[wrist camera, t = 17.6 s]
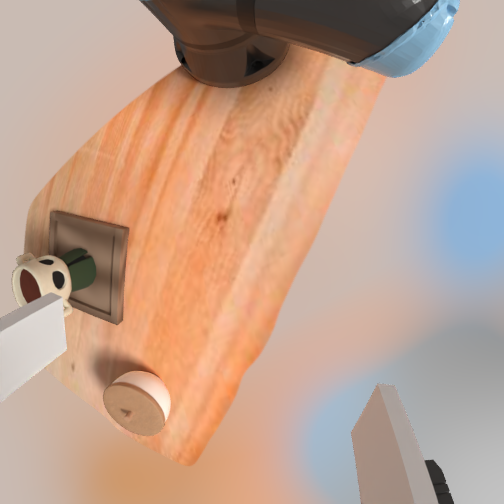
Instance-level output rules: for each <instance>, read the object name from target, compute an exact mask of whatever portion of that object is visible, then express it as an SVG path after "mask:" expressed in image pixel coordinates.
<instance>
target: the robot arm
mask: <svg viewBox="0 0 504 504" xmlns="http://www.w3.org/2000/svg"><path fill="white" fill-rule="evenodd" d="M140 1H141V2H142V3H143V4H144V5H145V6H146V7H147V8H148V9H149V10H150V11H151V12H152V14H153V15H154V16H155V17H156V18H157V19H158V20H159V21H160V22H161V23H162V24H163V25H164V26H165V27H166V28H167V29H168V30H169V32H170V33H172V34H173V36H174V45H175V51H176V55H177V57H178V60H179V62H180V63H181V65H182V66H183V67H184V68H185V70H186V71H187V72H188V73H189V74H191V75H192V76H193V77H194V78H195V79H197V80H198V81H200V82H202V83H205V84H207V85H210V86H215V87H221V88H234V87H241V86H245V85H249V84H252V83H254V82H257V81H259V80H261V79H263V78H264V77H266V76H268V75H269V74H270V73H272V72H273V71H274V70H275V69H276V68H277V67H278V66H279V65H280V64H281V62H282V61H283V59H284V58H285V56H286V54H287V51H288V48H289V43H291V44H294V45H298V46H301V47H305V48H308V49H311V50H314V51H317V52H320V53H323V54H326V55H329V56H332V57H335V58H338V59H341V60H343V61H346V62H347V64H349V65H351V66H354V67H363V68H366V69H368V70H371V71H374V72H376V73H379V74H381V75H384V76H387V77H394V78H396V77H401V76H405V75H408V74H411V73H412V72H414V71H416V70H417V69H418V68H420V67H421V66H422V65H423V64H424V63H425V62H426V61H427V60H428V59H429V58H430V57H431V56H432V55H433V54H434V53H435V51H436V50H437V49H438V48H439V46H440V45H441V43H442V42H443V41H444V39H445V37H446V36H447V34H448V33H449V31H450V29H451V27H452V25H453V22H454V19H453V16H454V15H455V14H456V12H457V11H458V8H459V4H460V0H140ZM66 350H67V345H66V336H65V325H64V311H63V297H61V296H59V295H57V294H54V293H52V292H50V293H48V294H46V295H44V296H42V297H40V298H38V299H36V300H34V301H32V302H30V303H28V304H26V305H24V306H22V307H21V308H19V309H17V310H15V311H13V312H11V313H9V314H7V315H5V316H3V317H1V318H0V403H1V402H2V401H3V400H5V399H6V398H7V397H8V396H9V395H11V394H12V393H13V392H14V391H16V390H17V389H18V388H19V387H20V386H22V385H23V384H24V383H25V382H27V381H28V380H29V379H30V378H32V377H33V376H34V375H35V374H37V373H38V372H39V371H40V370H42V369H43V368H44V367H46V366H47V365H48V364H49V363H51V362H52V361H53V360H54V359H56V358H57V357H58V356H60V355H61V354H62V353H63V352H65V351H66ZM351 436H352V442H353V448H354V454H355V461H356V468H357V475H358V483H359V491H360V499H361V504H454V502H453V499H452V496H451V493H449V488H448V485H447V484H446V480H445V477H444V474H443V472H442V470H441V468H440V467H439V466H438V465H437V464H436V463H435V461H434V460H424V458H423V456H422V453H421V450H420V447H419V445H418V442H417V439H416V437H415V434H414V432H413V429H412V426H411V424H410V421H409V419H408V417H407V414H406V411H405V409H404V407H403V404H402V402H401V399H400V397H399V394H398V392H397V390H396V387H395V385H386V384H377V386H376V388H375V390H374V392H373V394H372V395H371V397H370V399H369V401H368V403H367V405H366V407H365V409H364V411H363V412H362V414H361V416H360V418H359V420H358V421H357V423H356V425H355V426H354V428H353V430H352V432H351Z"/></svg>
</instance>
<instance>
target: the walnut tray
mask: <svg viewBox="0 0 504 504" xmlns="http://www.w3.org/2000/svg"><path fill="white" fill-rule="evenodd" d="M128 234H129V228H127V227H123V226H119V225H115V224H111V223H106V222H102V221H98V220H94V219H90V218H86V217H82V216H77V215H73V214H69V213H65V212H61V211H53V212H51V213H50V232H49V255H52V256H55V257H58V258H59V257H60V256H62V255H64V254H65V253H67V252H69V251H71V250H73V249H77V248H82V249H84V250H86V251H87V252H88V253H86V254H84V256H85V257H86V259H87V258H90V257H92V258H93V259H94V262H95V265H96V277H95V279H94V282H93V283H92V284H91V285H90V286H89V287H87V288H84V289H81V290H78V291H74V292H71V293H70V296H69V298H68V300H67V301H68V302H69V303H70V305H71V306H72V307H74V308H76V309H78V310H81V311H83V312H86V313H88V314H90V315H93V316H95V317H98V318H100V319H103V320H105V321H108V322H110V323H113V324H116V325H118V324H119V323H120V322H122V321H123V301H124V281H125V267H126V255H127V244H128Z"/></svg>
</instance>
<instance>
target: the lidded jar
mask: <svg viewBox="0 0 504 504" xmlns="http://www.w3.org/2000/svg"><path fill="white" fill-rule="evenodd" d="M103 401H104V405H105V407H106V409H107V411H108V413H109V414H110V416H111V417H112V418H113V419H114V420H115V421H116V422H117V423H118V424H119V425H121V426H122V427H124V428H125V429H127V430H128V431H130V432H133V433H135V434H138V435H143V436H153V435H156V434H158V433H160V432H161V431H162V429H163V427H164V425H165V422H166V420H167V418H168V415H169V412H170V407H171V399H170V395H169V392H168V390H167V388H166V386H165V384H164V382H163V381H162V380H161V379H160V378H159V377H158V376H156V375H154V374H152V373H150V372H144V371H131V372H128V373H125V374H123V375H121V376H120V377H118V378H117V379H116V380H115V381H114V382H113V383H112V384H111V385H109V386H108V387H107V388H106V390H105V391H104V394H103Z"/></svg>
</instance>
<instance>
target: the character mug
mask: <svg viewBox="0 0 504 504" xmlns="http://www.w3.org/2000/svg"><path fill="white" fill-rule="evenodd" d="M86 253H88V252H87V251H86V250H84V249H82V248H77V249H73V250H71V251H69V252H67V253H65V254H64V255H62V256H60V257H59V258H58V257H55V256H52V255H44V256H42V257H39V258H35V257H34V255H33V254H32V253H26V254H23V255H20V256H18V257H17V258H16V261H17V264H18V265H19V266H17V267H16V269H15V270H14V271H13V274H12V290H13V293H14V296H15V299H16V301H17V303H18V305H19V307H20V308H21V307H22V306H24V305H26V304H28V303H30V302H32V301H34V300H36V299H38V298H40V297H42V296H44V295H46V294H48V293H50V292H52V293H54V294H57V295H59V296H61V297H63V307H64V308H65V309H64V310H63V311H64V317H66V316H68V315H69V314H71V313H72V312H73V307H72V306H71V305H70V303H69V302H68V301H67V300H68V298H69V296H70V293H71V292H74V291H78V290H81V289H84V288H87V287H89V286H90V285H91V284H92V283H93V282H94V279H95V277H96V265H95V262H94V259H93V258H92V257H90V258H87V259H86V257H85V256H84V254H86ZM27 260H29V261H28V262H27V263H25V262H24V261H27Z"/></svg>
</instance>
